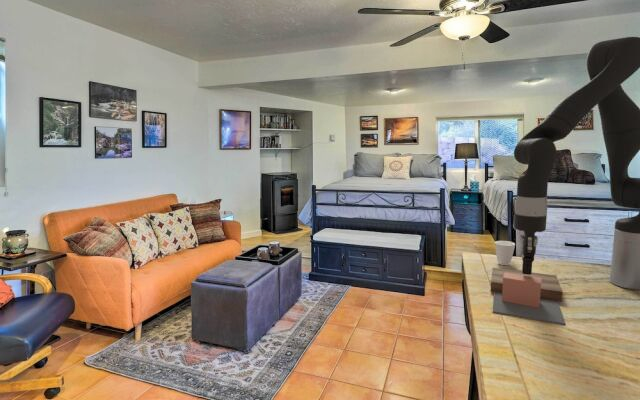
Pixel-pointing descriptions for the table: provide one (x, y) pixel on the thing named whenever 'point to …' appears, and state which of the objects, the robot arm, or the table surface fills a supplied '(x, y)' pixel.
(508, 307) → the mat
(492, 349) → the table surface
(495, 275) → the platform
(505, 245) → the cup
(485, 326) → the table surface
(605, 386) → the table surface
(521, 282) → the block
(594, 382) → the table surface
